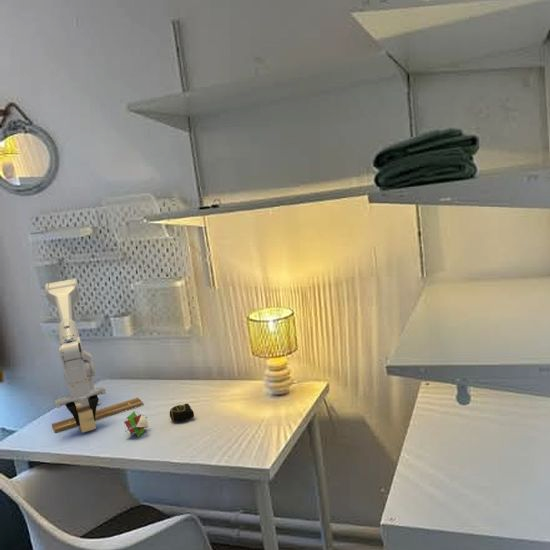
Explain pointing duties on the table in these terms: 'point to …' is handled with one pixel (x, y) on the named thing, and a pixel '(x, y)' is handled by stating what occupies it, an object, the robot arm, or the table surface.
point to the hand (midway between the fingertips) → (86, 422)
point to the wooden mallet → (85, 418)
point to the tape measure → (181, 413)
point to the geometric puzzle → (136, 424)
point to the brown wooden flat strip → (99, 414)
